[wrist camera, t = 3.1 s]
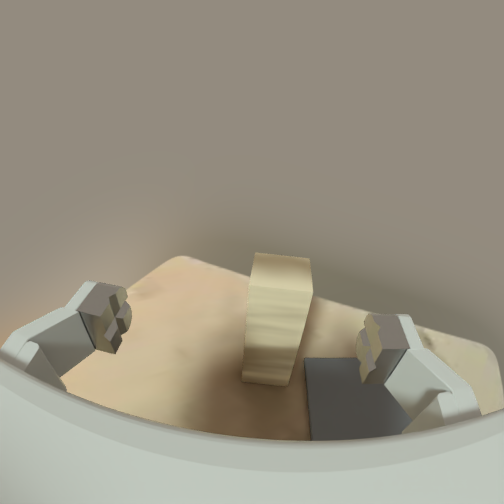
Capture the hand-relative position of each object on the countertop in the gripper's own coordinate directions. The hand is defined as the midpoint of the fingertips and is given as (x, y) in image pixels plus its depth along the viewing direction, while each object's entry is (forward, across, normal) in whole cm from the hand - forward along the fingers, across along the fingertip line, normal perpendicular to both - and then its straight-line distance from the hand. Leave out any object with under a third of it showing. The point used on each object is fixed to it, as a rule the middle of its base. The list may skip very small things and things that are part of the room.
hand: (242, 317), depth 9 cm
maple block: (+11, +2, -18) cm, 21 cm away
